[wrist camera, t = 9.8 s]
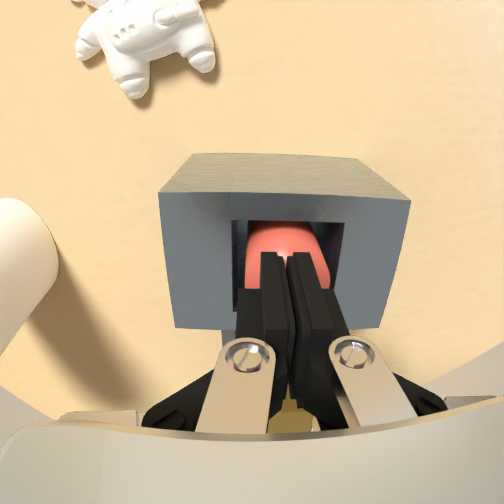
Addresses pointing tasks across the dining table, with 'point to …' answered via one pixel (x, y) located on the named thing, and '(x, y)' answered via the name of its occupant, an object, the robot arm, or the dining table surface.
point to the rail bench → (277, 209)
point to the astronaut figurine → (145, 38)
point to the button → (281, 247)
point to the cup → (23, 265)
